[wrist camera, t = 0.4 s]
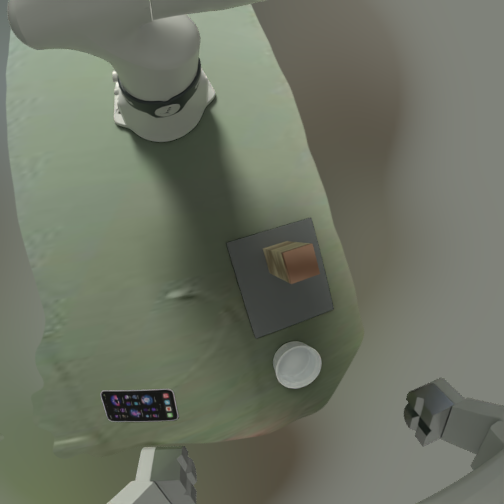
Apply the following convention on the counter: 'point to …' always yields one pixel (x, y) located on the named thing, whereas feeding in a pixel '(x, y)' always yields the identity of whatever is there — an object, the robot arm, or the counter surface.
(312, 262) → the birch block
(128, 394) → the smartphone
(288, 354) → the ramekin
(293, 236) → the rubber mat
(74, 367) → the counter surface
